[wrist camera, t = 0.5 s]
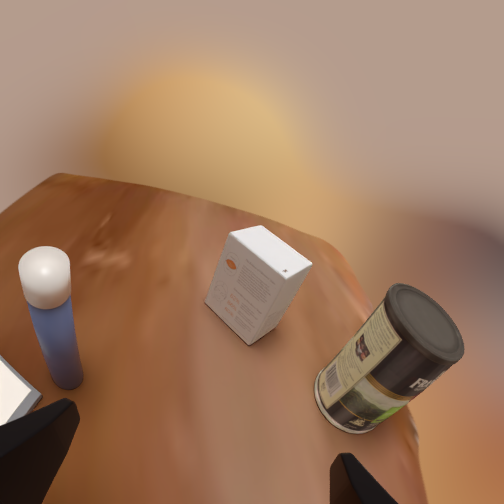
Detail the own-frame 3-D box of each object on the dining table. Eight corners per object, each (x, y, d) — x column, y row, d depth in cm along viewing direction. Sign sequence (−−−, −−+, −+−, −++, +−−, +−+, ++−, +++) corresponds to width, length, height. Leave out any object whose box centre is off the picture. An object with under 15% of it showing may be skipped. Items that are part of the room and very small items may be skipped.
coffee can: (393, 414, 29) (474, 344, 21) (341, 447, 23) (443, 375, 16) (354, 356, 36) (418, 280, 29) (298, 374, 30) (370, 284, 23)
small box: (276, 328, 35) (315, 264, 30) (248, 347, 31) (288, 279, 26) (233, 288, 39) (261, 223, 33) (202, 302, 35) (228, 230, 29)
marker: (71, 397, 18) (42, 294, 12) (43, 375, 18) (8, 265, 12) (90, 372, 21) (80, 262, 15) (63, 352, 21) (45, 239, 15)
